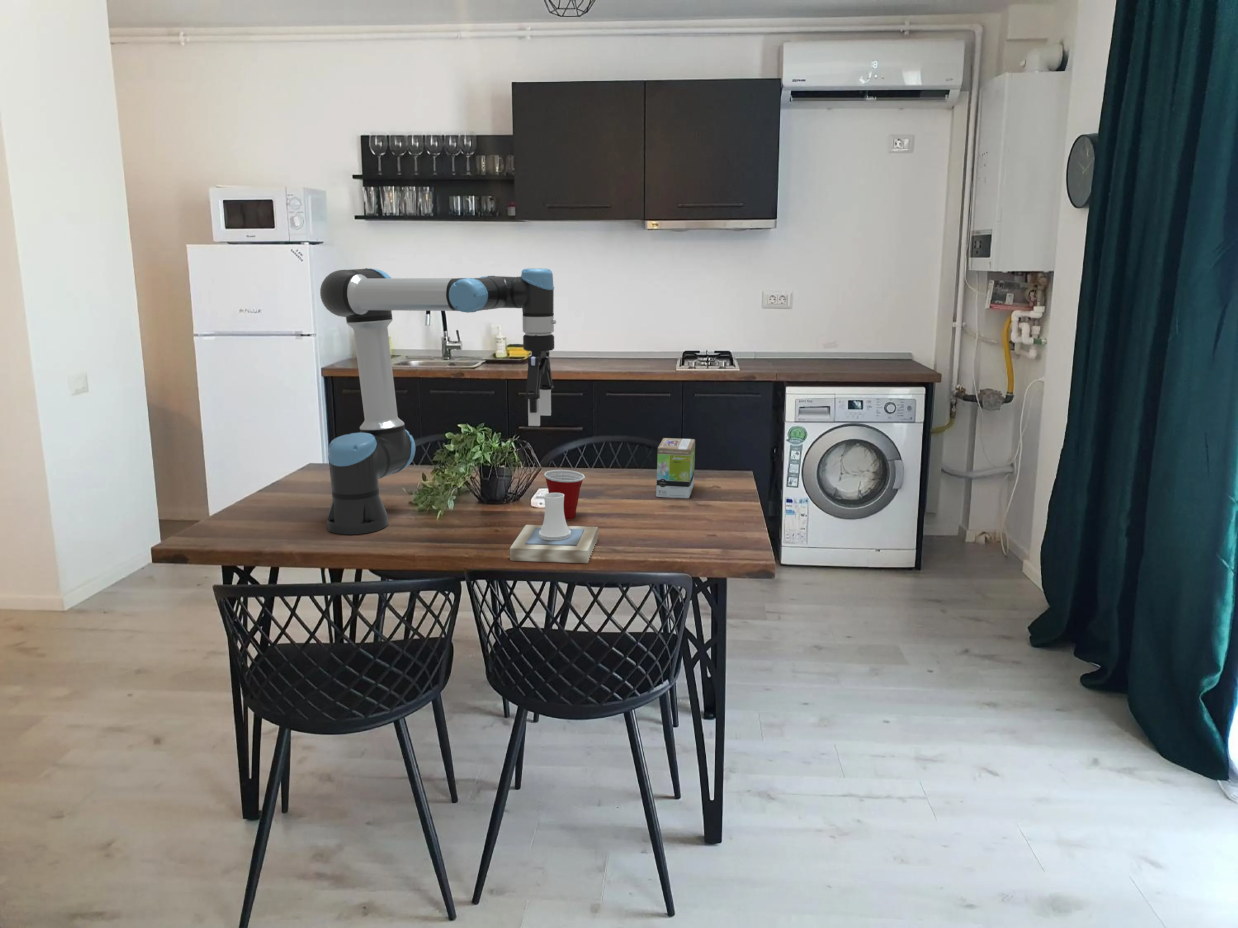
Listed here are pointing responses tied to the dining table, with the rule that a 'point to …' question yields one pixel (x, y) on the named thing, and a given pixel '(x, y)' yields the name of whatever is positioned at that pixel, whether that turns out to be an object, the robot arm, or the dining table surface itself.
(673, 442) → the tea box
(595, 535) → the plinth
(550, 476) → the plastic cup
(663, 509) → the dining table surface
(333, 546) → the dining table surface
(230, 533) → the dining table surface
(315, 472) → the dining table surface
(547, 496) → the white flared tube
